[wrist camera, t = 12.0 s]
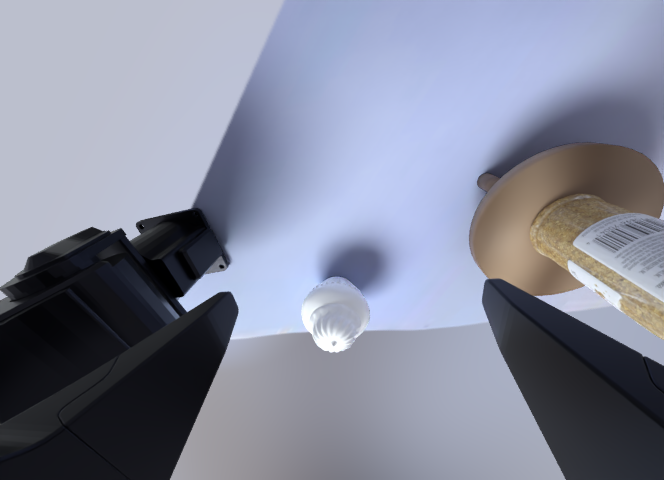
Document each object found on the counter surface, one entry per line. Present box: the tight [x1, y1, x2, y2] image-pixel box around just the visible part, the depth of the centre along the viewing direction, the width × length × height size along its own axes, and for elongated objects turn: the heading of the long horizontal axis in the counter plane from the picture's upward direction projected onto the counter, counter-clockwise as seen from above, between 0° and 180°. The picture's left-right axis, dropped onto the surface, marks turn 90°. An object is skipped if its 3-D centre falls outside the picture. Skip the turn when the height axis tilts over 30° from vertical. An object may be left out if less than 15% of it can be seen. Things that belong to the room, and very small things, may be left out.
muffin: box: [301, 276, 370, 353], centre depth 22 cm, size 6×6×7 cm
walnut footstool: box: [469, 142, 664, 296], centre depth 18 cm, size 11×11×4 cm
